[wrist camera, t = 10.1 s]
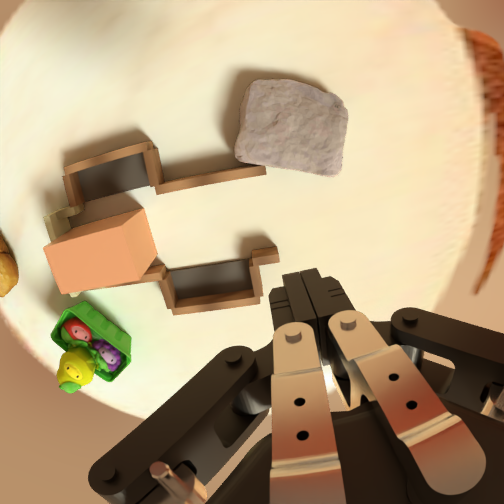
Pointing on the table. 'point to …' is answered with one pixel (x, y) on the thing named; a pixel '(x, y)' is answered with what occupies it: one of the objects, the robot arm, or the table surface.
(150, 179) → the box
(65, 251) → the terracotta brick
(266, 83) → the stone block
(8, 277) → the bread roll
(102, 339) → the fruit basket
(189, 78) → the table surface
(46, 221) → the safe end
